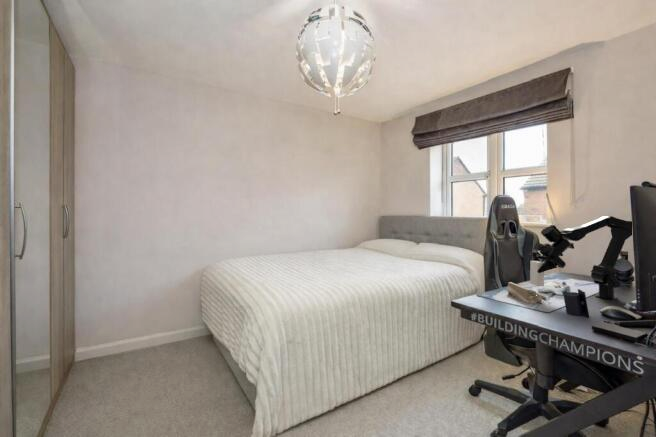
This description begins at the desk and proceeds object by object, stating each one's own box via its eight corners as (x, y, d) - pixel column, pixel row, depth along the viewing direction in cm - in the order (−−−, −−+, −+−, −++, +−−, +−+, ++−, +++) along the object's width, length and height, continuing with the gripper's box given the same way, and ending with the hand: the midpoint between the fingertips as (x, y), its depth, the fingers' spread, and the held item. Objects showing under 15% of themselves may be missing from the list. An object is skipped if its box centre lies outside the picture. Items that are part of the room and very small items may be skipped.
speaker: (588, 313, 124) (585, 288, 124) (589, 318, 120) (586, 292, 120) (565, 311, 129) (562, 287, 129) (565, 315, 125) (562, 291, 125)
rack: (531, 293, 155) (531, 282, 155) (552, 302, 139) (553, 290, 139) (508, 293, 156) (508, 282, 156) (527, 302, 140) (527, 290, 140)
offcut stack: (524, 295, 153) (524, 286, 153) (537, 301, 143) (538, 292, 143) (516, 295, 153) (516, 286, 153) (529, 301, 143) (529, 292, 143)
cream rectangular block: (536, 283, 150) (536, 260, 150) (543, 286, 144) (543, 262, 144) (530, 283, 150) (530, 260, 150) (537, 286, 145) (537, 262, 144)
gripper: (533, 235, 156) (511, 256, 157) (559, 239, 137) (534, 263, 138) (548, 250, 156) (526, 271, 156) (576, 256, 137) (551, 279, 138)
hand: (534, 271), depth 147 cm, fingers closed on cream rectangular block, 5 cm apart
